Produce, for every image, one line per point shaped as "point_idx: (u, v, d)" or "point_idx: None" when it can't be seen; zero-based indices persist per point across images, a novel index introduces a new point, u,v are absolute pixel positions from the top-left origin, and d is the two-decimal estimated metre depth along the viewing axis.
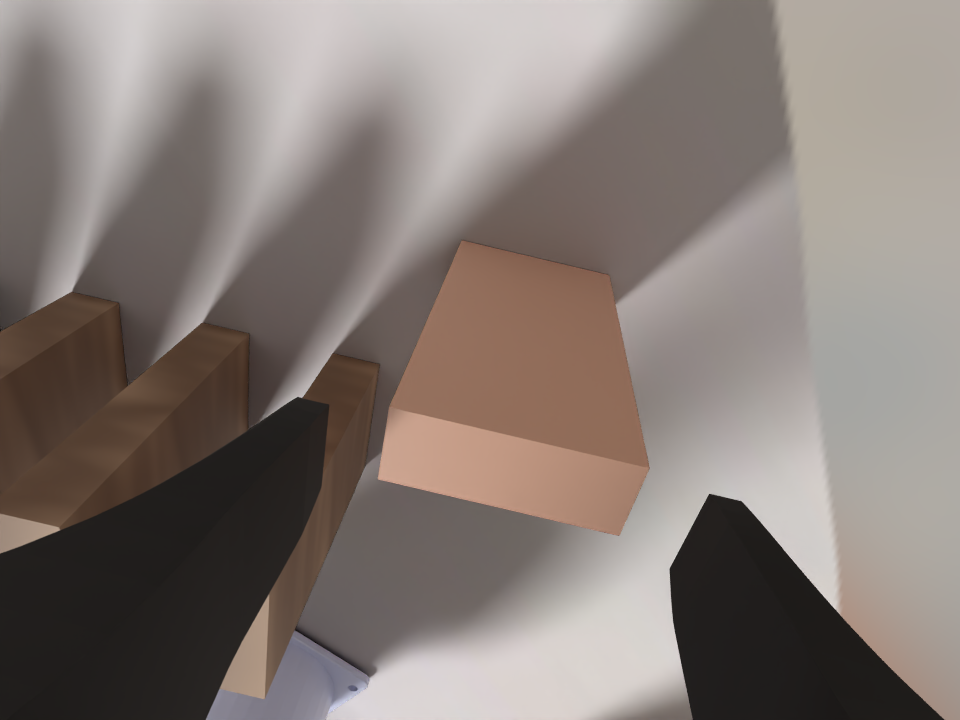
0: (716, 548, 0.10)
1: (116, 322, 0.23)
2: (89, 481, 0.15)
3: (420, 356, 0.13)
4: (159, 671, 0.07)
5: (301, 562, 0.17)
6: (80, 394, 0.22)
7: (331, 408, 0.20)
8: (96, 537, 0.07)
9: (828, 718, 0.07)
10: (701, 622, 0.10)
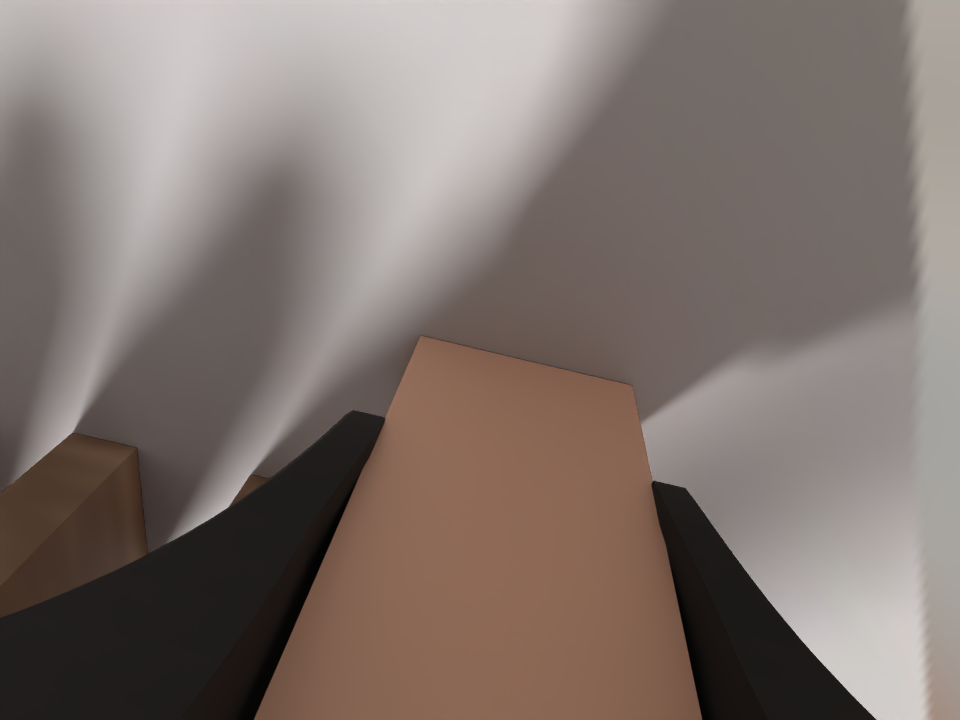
0: None
1: None
2: None
3: (303, 646, 0.07)
4: (251, 693, 0.07)
5: None
6: None
7: None
8: (188, 559, 0.07)
9: (739, 697, 0.07)
10: None
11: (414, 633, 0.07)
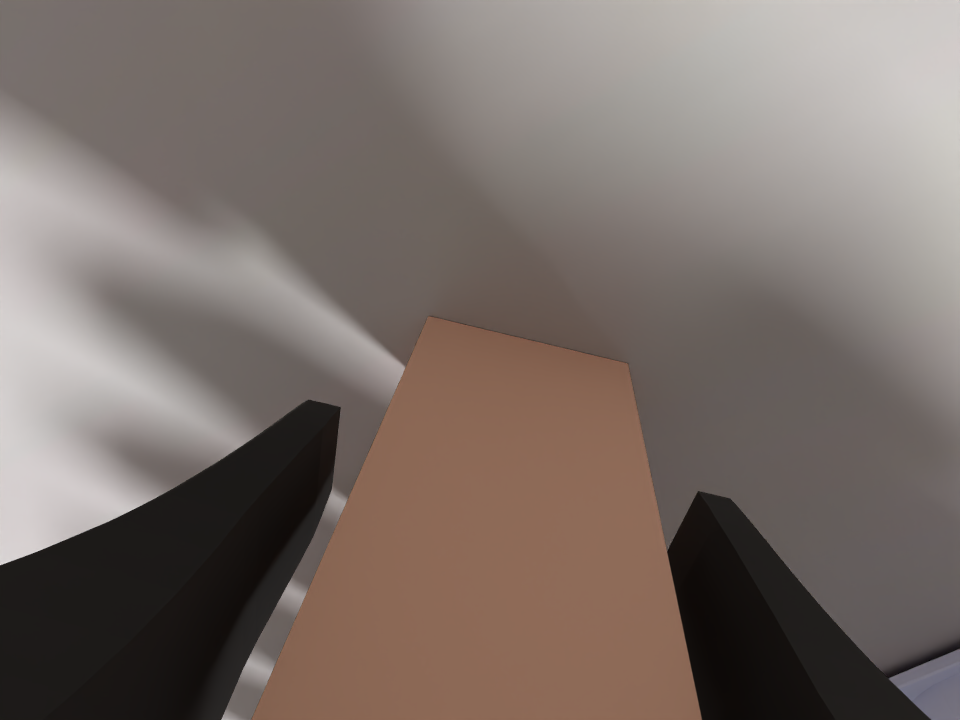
0: (704, 545, 0.10)
1: None
2: None
3: (330, 575, 0.08)
4: (177, 675, 0.07)
5: None
6: None
7: None
8: (114, 542, 0.07)
9: (811, 714, 0.07)
10: (689, 619, 0.10)
11: (428, 567, 0.08)
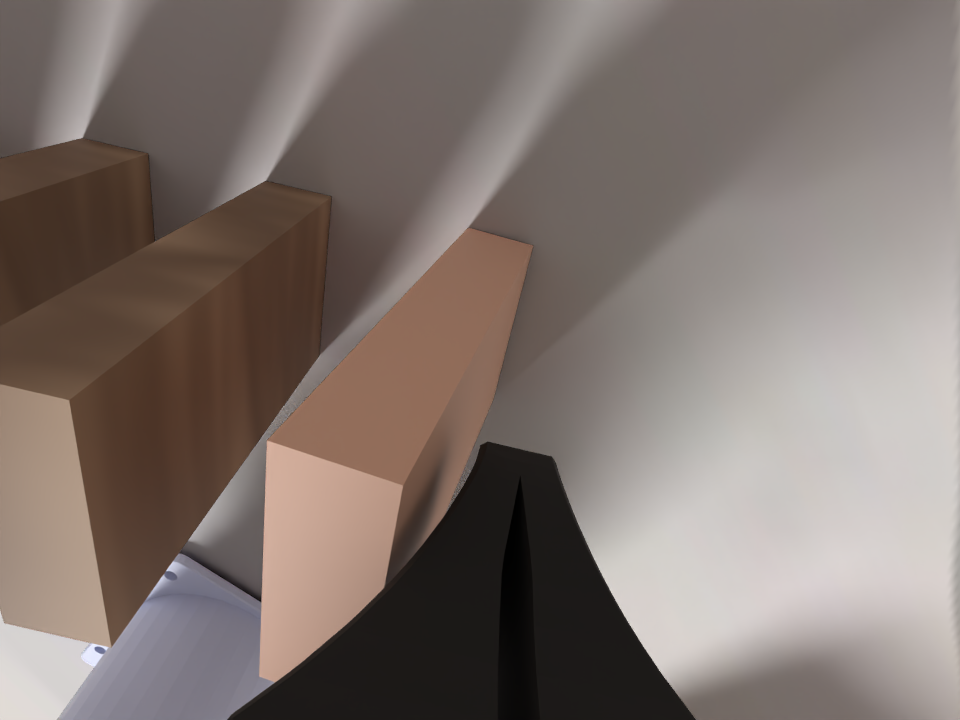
0: None
1: None
2: None
3: (447, 408, 0.09)
4: None
5: (179, 429, 0.11)
6: None
7: (249, 226, 0.13)
8: (411, 610, 0.07)
9: (529, 648, 0.07)
10: None
11: (443, 451, 0.10)
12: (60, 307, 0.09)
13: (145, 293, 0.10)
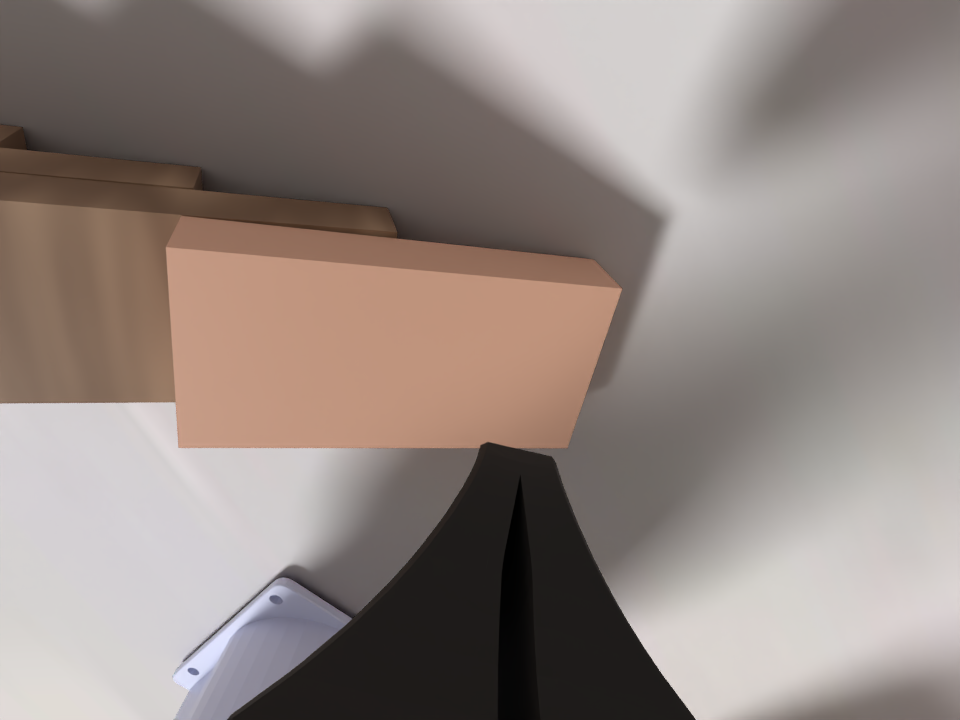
0: None
1: None
2: None
3: (278, 265, 0.12)
4: None
5: (40, 298, 0.13)
6: None
7: (253, 208, 0.14)
8: (410, 611, 0.07)
9: (529, 648, 0.07)
10: None
11: (300, 319, 0.13)
12: (24, 178, 0.13)
13: (65, 192, 0.13)
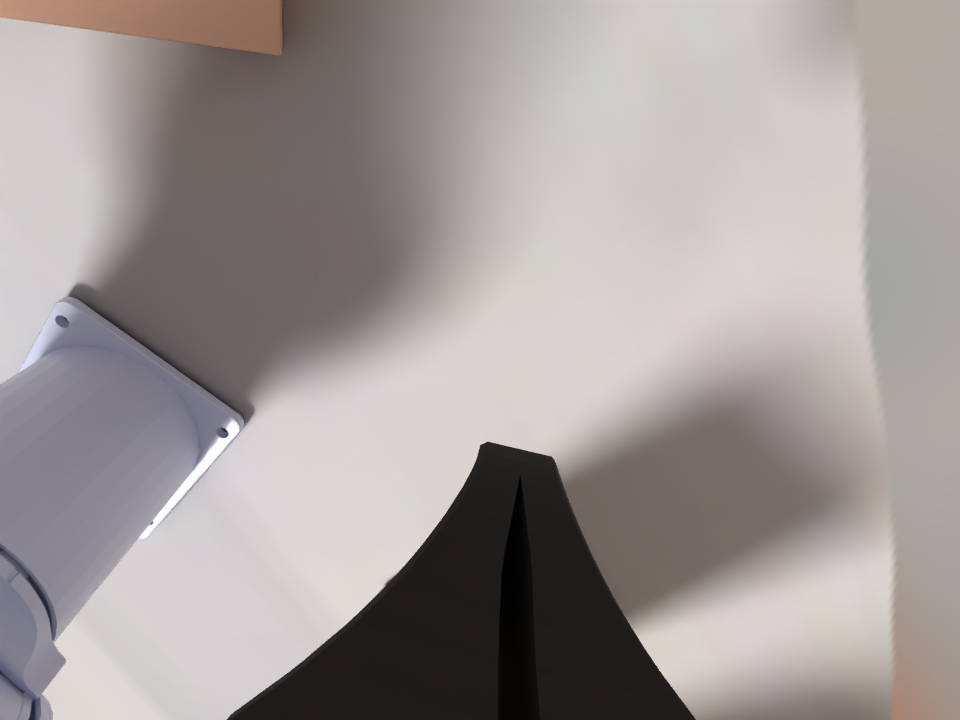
0: None
1: None
2: None
3: None
4: None
5: None
6: None
7: None
8: (410, 610, 0.07)
9: (529, 648, 0.07)
10: None
11: None
12: None
13: None
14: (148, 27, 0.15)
